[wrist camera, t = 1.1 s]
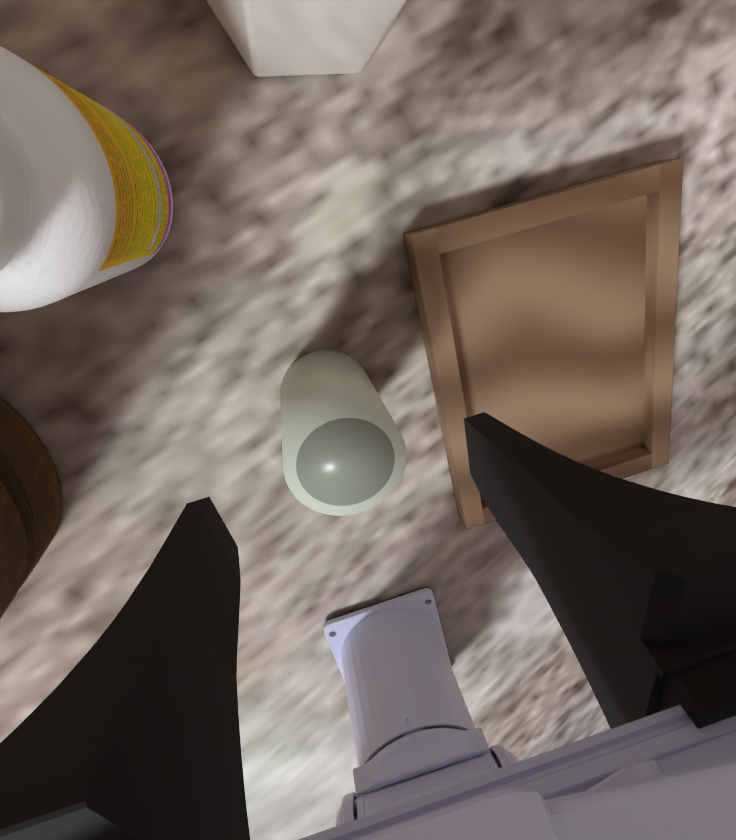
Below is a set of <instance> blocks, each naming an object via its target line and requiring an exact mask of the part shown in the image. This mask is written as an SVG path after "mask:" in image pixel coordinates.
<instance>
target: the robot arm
mask: <svg viewBox="0 0 736 840" xmlns="http://www.w3.org/2000/svg"><path fill="white" fill-rule="evenodd" d="M464 426H465V434H466V443H467V451H468V460H469V468H470V474H471V476H472V478H473V480H474V482H475V484H476V486H477V488H478V490H479V492H480V494H481V496H482V498H483V500H484V502H485V504H486V505H487V507H488V508H489V510H490V511H491V513H492V514H493V516H494V517H495V519H496V520H497V522H498V523H499V525H500V526H501V528H502V529H503V531H504V532H505V533H506V535H507V536H508V538H509V539H510V541H511V542H512V544H513V545H514V547H515V548H516V550H517V551H518V553H519V554H520V555H521V557H522V558H523V560H524V561H525V563H526V564H527V566H528V567H529V569H530V571H531V572H532V574H533V576H534V577H535V579H536V581H537V582H538V584H539V586H540V588H541V590H542V592H543V593H544V595H545V597H546V599H547V601H548V603H549V605H550V606H551V608H552V610H553V612H554V614H555V616H556V618H557V620H558V622H559V624H560V626H561V627H562V629H563V631H564V633H565V635H566V637H567V639H568V641H569V643H570V645H571V647H572V649H573V651H574V653H575V655H576V657H577V659H578V661H579V663H580V665H581V667H582V669H583V671H584V673H585V675H586V677H587V679H588V681H589V683H590V685H591V687H592V690H593V692H594V694H595V696H596V698H597V700H598V702H599V704H600V707H601V709H602V711H603V713H604V715H605V717H606V719H607V721H608V724H609V726H610V728H611V729H610V730H607V731H604V732H601V733H598V734H596V735H593V736H590V737H587V738H584V739H581V740H579V741H576V742H573V743H570V744H567V745H565V746H562V747H559V748H556V749H553V750H550V751H548V752H545V753H542V754H539V755H536V756H533V757H531V758H528V759H525V760H522V761H518V759H517V758H516V756H515V755H514V754H512V753H511V752H509V751H508V750H506V749H505V748H504V747H503V746H502V745H500V744H497V745H494V746H491V747H490V749H489V747H488V744H487V742H486V739H485V737H484V734H483V732H482V729H481V728H476V729H475V727H474V724H473V722H472V719H471V716H470V714H469V711H468V709H467V706H466V704H465V701H464V698H463V696H462V693H461V691H460V688H459V686H458V683H457V681H456V678H455V675H454V673H453V670H452V667H451V663H450V659H449V655H448V651H447V647H446V643H445V639H444V635H443V631H442V627H441V623H440V619H439V615H438V611H437V607H436V603H435V599H434V595H433V593H432V590H431V589H429V588H424V589H421V590H418V591H415V592H412V593H409V594H406V595H403V596H400V597H397V598H394V599H391V600H388V601H385V602H382V603H379V604H376V605H373V606H370V607H367V608H364V609H361V610H358V611H355V612H352V613H349V614H346V615H343V616H340V617H337V618H334V619H331V620H328V621H326V622H325V623H324V625H323V629H324V633H325V635H326V638H327V640H328V642H329V645H330V647H331V650H332V652H333V654H334V657H335V659H336V662H337V664H338V667H339V669H340V671H341V674H342V676H343V679H344V681H345V685H346V691H347V698H348V704H349V711H350V718H351V724H352V731H353V737H354V744H355V750H356V757H357V763H358V767H357V768H355V769H354V770H353V775H354V782H355V789H356V793H354V792H353V793H350V794H347V795H345V796H344V798H343V801H342V805H341V807H340V809H339V811H338V814H337V819H336V827H333V828H330V829H327V830H325V831H322V832H319V833H316V834H313V835H311V836H308V837H305V838H302V839H299V840H736V507H732V506H726V505H720V504H715V503H710V502H705V501H701V500H696V499H692V498H688V497H683V496H679V495H675V494H671V493H667V492H663V491H660V490H656V489H653V488H649V487H646V486H643V485H639V484H636V483H633V482H630V481H627V480H624V479H621V478H618V477H615V476H612V475H609V474H607V473H604V472H602V471H599V470H596V469H594V468H591V467H589V466H586V465H584V464H581V463H579V462H577V461H575V460H572V459H570V458H568V457H566V456H564V455H562V454H559V453H557V452H555V451H553V450H551V449H549V448H547V447H545V446H543V445H542V444H540V443H538V442H536V441H534V440H532V439H530V438H529V437H527V436H525V435H523V434H521V433H520V432H518V431H516V430H514V429H513V428H511V427H509V426H508V425H506V424H504V423H502V422H501V421H499V420H497V419H496V418H494V417H492V416H491V415H489V414H487V413H485V412H483V413H480V414H477V415H473V416H470V417H467V418H464ZM427 599H429V600H427ZM426 600H427V601H426ZM239 605H240V567H239V557H238V547H237V545H236V543H235V541H234V540H233V538H232V536H231V534H230V532H229V531H228V529H227V527H226V525H225V524H224V522H223V520H222V518H221V517H220V515H219V513H218V511H217V510H216V508H215V506H214V504H213V503H212V501H211V499H210V497H207V498H204V499H201V500H197V501H194V502H191V503H188V504H187V505H186V506H185V508H184V510H183V511H182V513H181V515H180V516H179V518H178V520H177V522H176V523H175V525H174V527H173V529H172V530H171V532H170V534H169V536H168V537H167V539H166V541H165V542H164V544H163V546H162V548H161V549H160V551H159V553H158V554H157V556H156V558H155V559H154V561H153V563H152V564H151V566H150V568H149V569H148V571H147V572H146V574H145V575H144V577H143V578H142V580H141V581H140V583H139V584H138V586H137V587H136V589H135V590H134V592H133V593H132V595H131V596H130V598H129V599H128V601H127V602H126V604H125V605H124V607H123V608H122V609H121V611H120V612H119V613H118V615H117V616H116V618H115V619H114V620H113V622H112V623H111V624H110V625H109V627H108V628H107V629H106V630H105V632H104V633H103V634H102V636H101V637H100V638H99V639H98V641H97V642H96V643H95V644H94V646H93V647H92V648H91V649H90V650H89V651H88V653H87V654H86V655H85V656H84V657H83V658H82V659H81V660H80V662H79V663H78V664H77V665H76V666H75V667H74V668H73V670H72V671H71V672H70V673H69V674H68V675H67V676H66V678H65V679H64V680H63V681H62V682H61V683H60V684H59V685H58V686H57V687H56V689H55V690H54V691H53V692H52V693H51V694H50V695H49V696H48V697H47V698H46V699H45V700H44V701H43V702H42V703H41V704H40V705H39V706H38V707H37V708H36V709H35V710H34V711H33V712H32V713H31V714H30V715H29V716H28V717H27V718H26V719H25V720H24V721H23V722H22V723H21V724H20V725H19V726H18V727H17V728H16V729H15V730H14V731H13V732H12V733H11V734H10V735H9V736H7V737H6V738H5V739H4V740H3V741H2V742H1V743H0V840H250V835H249V827H248V818H247V810H246V801H245V790H244V780H243V769H242V759H241V746H240V732H239V718H238V699H237V680H236V672H237V644H238V625H239ZM332 631H334V632H332Z"/></svg>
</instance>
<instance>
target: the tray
mask: <svg viewBox="0 0 736 840" xmlns="http://www.w3.org/2000/svg"><path fill="white" fill-rule="evenodd" d="M682 172H683V158H677V159H669V160H661V161H657V162H654V163H650V164H647V165H643V166H640V167H636V168H633V169H629V170H626V171H622V172H618V173H615V174H611V175H608V176H604V177H601V178H597V179H594V180H590V181H587V182H583V183H580V184H576V185H573V186H569V187H565V188H562V189H558V190H555V191H551V192H548V193H544V194H541V195H537V196H534V197H530V198H527V199H523V200H520V201H516V202H512V203H509V204H505V205H502V206H498V207H495V208H491V209H488V210H484V211H481V212H477V213H474V214H470V215H466V216H463V217H459V218H456V219H452V220H449V221H445V222H442V223H438V224H435V225H431V226H428V227H424V228H421V229H417V230H413V231H410V232H406V233H403V237H404V242H405V247H406V252H407V257H408V262H409V267H410V272H411V277H412V282H413V288H414V293H415V298H416V303H417V308H418V313H419V318H420V323H421V328H422V333H423V338H424V343H425V348H426V353H427V358H428V363H429V368H430V373H431V378H432V383H433V388H434V394H435V399H436V404H437V409H438V414H439V419H440V424H441V429H442V434H443V439H444V444H445V449H446V454H447V459H448V464H449V469H450V474H451V479H452V484H453V489H454V494H455V499H456V505H457V510H458V515H459V517H460V519H461V520H462V522H463V523H464V525H465V527H466V528H467V529H470V528H473V527H476V526H479V525H482V524H485V523H488V522H491V521H494V520H496V519H495V517H494V516H493V514H492V513H491V511H490V510H489V508H488V507H487V505H486V504H485V502H484V500H483V498H482V496H481V494H480V492H479V490H478V488H477V486H476V484H475V482H474V480H473V478H472V476H471V474H470V468H469V460H468V451H467V443H466V434H465V426H464V418H467V417H470V416H473V415H477V414H480V413H483V412H485V413H487V414H489V415H491V416H492V417H494V418H496V419H497V420H499V421H501V422H502V423H504V424H506V425H508V426H509V427H511V428H513V429H514V430H516V431H518V432H520V433H521V434H523V435H525V436H527V437H529V438H530V439H532V440H534V441H536V442H538V443H540V444H542V445H543V446H545V447H547V448H549V449H551V450H553V451H555V452H557V453H559V454H562V455H564V456H566V457H568V458H570V459H572V460H575V461H577V462H579V463H581V464H584V465H586V466H589V467H591V468H594V469H596V470H599V471H602V472H604V473H607V474H609V475H612V476H615V477H618V478H621V479H622V478H626V477H629V476H632V475H635V474H638V473H641V472H644V471H647V470H650V469H653V468H656V467H659V466H662V465H665V464H668V461H669V440H670V420H671V399H672V379H673V358H674V337H675V317H676V296H677V276H678V255H679V234H680V214H681V193H682Z"/></svg>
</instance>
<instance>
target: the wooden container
mask: <svg viewBox="0 0 736 840" xmlns="http://www.w3.org/2000/svg"><path fill="white" fill-rule="evenodd" d="M60 515H61V490H60V485H59V480H58V476H57V473H56V470H55V467H54V465H53V462H52V460H51V458H50V456H49V454H48V452H47V450H46V448H45V447H44V445H43V444H42V442H41V441H40V439H39V438H38V436H37V435H36V433H35V432H34V431H33V430H32V428H31V427H30V426H29V425H28V424H27V423H26V422H25V421H24V420H23V419H22V418H21V417H20V416H19V415H18V414H17V413H16V412H15V411H14V410H13V409H12V408H11V407H10V406H9V405H8V404H6V403H5V402H4V401H3V400H2V399H1V398H0V618H1V617H2V615H3V614H4V612H5V611H6V609H7V608H8V606H9V605H10V603H11V602H12V601H13V599H14V597H15V596H16V594H17V592H18V590H19V589H20V587H21V586H22V585H23V584H24V582H25V581H26V579H27V578H28V576H29V575H30V574H31V572H32V570H33V569H34V568H35V566H36V564H37V563H38V561H39V560H40V558H41V557H42V555H43V554H44V552H45V551H46V549H47V547H48V546H49V544H50V542H51V541H52V539H53V537H54V535H55V532H56V530H57V527H58V524H59V520H60Z"/></svg>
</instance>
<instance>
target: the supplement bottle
mask: <svg viewBox="0 0 736 840" xmlns="http://www.w3.org/2000/svg"><path fill="white" fill-rule="evenodd" d="M172 219H173V195H172V190H171V185H170V182H169V178H168V175H167V173H166V170H165V168H164V166H163V164H162V162H161V160H160V158H159V156H158V155H157V153H156V152H155V150H154V149H153V147H152V146H151V145H150V143H149V142H148V141H147V140H146V139H145V138H144V136H143V135H142V134H141V133H140V132H139V131H138V130H137V129H135V128H134V127H133V126H132V125H131V124H130V123H128V122H127V121H126V120H124V119H123V118H121V117H120V116H119V115H117V114H115V113H114V112H112V111H111V110H109V109H107V108H105V107H104V106H102V105H100V104H99V103H97V102H95V101H93V100H91V99H90V98H88V97H86V96H85V95H83V94H81V93H80V92H78V91H76V90H75V89H73V88H71V87H69V86H68V85H66V84H64V83H63V82H61V81H59V80H58V79H56V78H54V77H53V76H51V75H49V74H47V73H46V72H44V71H42V70H41V69H39V68H37V67H36V66H34V65H32V64H31V63H29V62H27V61H26V60H24V59H22V58H21V57H19V56H17V55H16V54H14V53H12V52H10V51H9V50H7V49H5V48H3V47H1V46H0V312H17V311H25V310H31V309H35V308H39V307H43V306H46V305H49V304H51V303H54V302H57V301H59V300H61V299H64V298H66V297H68V296H71V295H73V294H75V293H78V292H80V291H83V290H85V289H88V288H90V287H93V286H95V285H97V284H100V283H102V282H105V281H107V280H109V279H112V278H114V277H117V276H119V275H122V274H124V273H127V272H129V271H131V270H134V269H136V268H138V267H140V266H142V265H143V264H145V263H146V262H148V261H149V260H150V259H151V258H152V257H154V256H155V254H156V253H157V252H158V251H159V250H160V249H161V247H162V246H163V244H164V242H165V241H166V239H167V236H168V234H169V231H170V228H171V224H172Z"/></svg>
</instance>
